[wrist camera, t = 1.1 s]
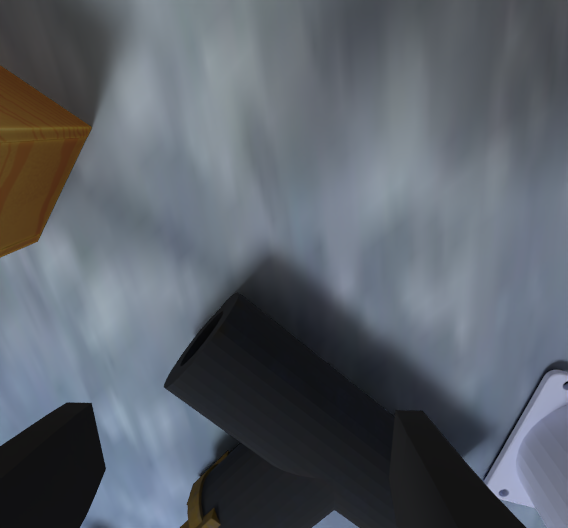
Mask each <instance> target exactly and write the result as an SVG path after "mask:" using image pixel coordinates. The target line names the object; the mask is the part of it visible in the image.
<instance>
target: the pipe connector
mask: <svg viewBox="0 0 568 528" xmlns="http://www.w3.org/2000/svg"><path fill="white" fill-rule="evenodd" d="M164 388H166V389H167V390H168V391H170V392H171V393H173V394H174V395H175V396H177V397H178V398H179V399H181V400H182V401H184V402H185V403H186V404H188V405H189V406H191V407H192V408H193V409H195V410H196V411H198V412H199V413H200V414H202V415H203V416H205V417H206V418H207V419H209V420H210V421H212V422H213V423H214V424H216V425H217V426H218V427H220V428H221V429H223V430H224V431H225V432H227V433H228V434H230V435H231V436H232V437H234V438H235V439H237V440H238V441H239V442H241V443H240V444H239V445H238V446H237V447H236V448H235V449H234V450H233V451H232V452H230V451H227V452H226V453H225V454H224V455H223V456H222V457H221V458H220V459H219V460H218V461H217V462H216V463H215V464H214V465H213V466H211V467H210V468H209V469H208V470H207V471H206V472H205V473H204V474H203V475H202V476H201V477H200V478H199V479H198V480H197V481H196V482H195V483H194V484H193V487H192V490H191V492H190V496H189V499H188V502H187V505H188V520H187V521H186V522H185V523H184V524H183V525H182V526H181V527H180V528H312V527H313V526H314V525H316V524H317V523H318V522H319V521H321V520H322V519H323V518H325V517H326V516H327V515H328V514H330V513H331V512H332V511H333V510H335V511H337V512H338V513H340V514H341V515H342V516H344V517H345V518H347V519H348V520H349V521H351V522H352V523H354V524H355V525H356V526H358V527H359V528H397V524H396V519H395V513H394V507H393V501H392V495H391V488H390V482H389V472H390V461H391V451H392V440H393V430H394V419H395V417H394V416H393V415H391V414H390V413H389V412H388V411H386V410H385V409H384V408H383V407H381V406H380V405H379V404H378V403H376V402H375V401H374V400H373V399H371V398H370V397H369V396H368V395H366V394H365V393H364V392H363V391H361V390H360V389H359V388H357V387H356V386H355V385H354V384H352V383H351V382H350V381H349V380H347V379H346V378H345V377H344V376H342V375H341V374H340V373H339V372H337V371H336V370H335V369H334V368H332V367H331V366H330V365H329V364H327V363H326V362H325V361H324V360H322V359H321V358H320V357H319V356H317V355H316V354H315V353H314V352H312V351H311V350H310V349H309V348H307V347H306V346H305V345H304V344H302V343H301V342H300V341H298V340H297V339H296V338H295V337H293V336H292V335H291V334H290V333H288V332H287V331H286V330H285V329H283V328H282V327H281V326H280V325H278V324H277V323H276V322H275V321H273V320H272V319H271V318H270V317H268V316H267V315H266V314H265V313H263V312H262V311H261V310H260V309H258V308H257V307H256V306H255V305H253V304H252V303H251V302H250V301H248V300H247V299H246V298H244V297H243V296H242V295H241V294H239V293H235V294H234V295H232V296H231V297H230V298H229V299H228V300H227V301H226V302H225V303H224V304H223V306H222V307H221V308H220V309H219V310H218V311H217V312H216V313H215V314H214V316H213V317H212V318H211V319H210V320H209V321H208V322H207V323H206V324H205V326H204V327H203V328H202V329H201V330H200V331H199V333H198V334H197V335H196V336H195V338H194V339H193V340H192V342H191V343H190V344H189V346H188V347H187V348H186V350H185V351H184V352H183V354H182V355H181V357H180V358H179V360H178V361H177V363H176V364H175V366H174V367H173V369H172V370H171V372H170V374H169V376H168V378H167V379H166V382H165V384H164Z"/></svg>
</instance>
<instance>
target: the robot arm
mask: <svg viewBox="0 0 568 528" xmlns="http://www.w3.org/2000/svg"><path fill="white" fill-rule="evenodd" d="M567 381H568V372H566V371H562V370H551V371H549V372H547V373H546V374H545V376H544V377H543V379H542V381H541V382H540V384H539V386H538V388H537V389H536V391H535V393H534V395H533V396H532V398H531V400H530V402H529V403H528V405H527V407H526V409H525V410H524V412H523V414H522V416H521V417H520V419H519V421H518V423H517V424H516V426H515V428H514V430H513V431H512V433H511V435H510V437H509V438H508V440H507V442H506V444H505V445H504V447H503V449H502V451H501V452H500V454H499V456H498V458H497V459H496V461H495V463H494V465H493V466H492V468H491V470H490V472H489V473H488V475H487V477H486V478H485V480H484V482H483V481H482V480H481V479H480V478H479V477H478V476H477V474H476V473H475V472H474V471H473V470H472V469H471V468H470V467H469V465H468V464H467V463H466V462H465V461H464V460H463V458H462V457H461V456H460V455H459V454H458V453H457V451H456V450H455V449H454V448H453V447H452V445H451V444H450V443H449V442H448V441H447V439H446V438H445V437H444V436H443V435H442V433H441V432H440V431H439V430H438V429H437V427H436V426H435V425H434V424H433V422H432V421H431V420H430V419H429V418H428V416H427V415H426V414H425V413H424V412H423V411H406V410H395V419H394V430H393V440H392V451H391V461H390V472H389V482H390V488H391V495H392V501H393V507H394V513H395V519H396V524H397V528H526V527H525V526H524V525H523V524H522V523H521V522H520V521H519V520H518V519H517V518H516V517H515V516H514V515H513V513H512V512H511V511H510V510H509V509H508V508H507V507H506V506H505V505H504V504H503V503H502V502H501V501H500V500H499V499H502V500H505V501H509V502H513V503H517V504H521V505H525V506H529V507H533V508H536V510H537V512H538V513H539V515H540V517H541V519H542V520H543V522H544V524H545V525H546V527H547V528H568V384H566V385H563V384H564V383H565V382H567ZM105 470H106V467H105V463H104V458H103V453H102V449H101V444H100V440H99V435H98V430H97V426H96V421H95V416H94V412H93V407H92V403H66V404H64V405H62V406H61V407H59V408H57V409H56V410H54V411H52V412H51V413H49V414H48V415H46V416H45V417H43V418H42V419H40V420H39V421H37V422H36V423H34V424H33V425H31V426H30V427H28V428H27V429H25V430H24V431H22V432H21V433H19V434H18V435H16V436H15V437H13V438H12V439H10V440H9V441H7V442H6V443H4V444H3V445H1V446H0V528H80V526H81V524H82V522H83V521H84V519H85V517H86V515H87V513H88V511H89V508H90V506H91V504H92V501H93V499H94V497H95V495H96V492H97V490H98V487H99V485H100V482H101V480H102V477H103V475H104V472H105Z"/></svg>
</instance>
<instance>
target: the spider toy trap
mask: <svg viewBox="0 0 568 528" xmlns="http://www.w3.org/2000/svg"><path fill="white" fill-rule="evenodd" d="M91 129H92V127H91V126H89V125H88V124H86V123H85V122H83V121H82V120H80V119H79V118H77V117H76V116H74V115H73V114H72V113H70V112H69V111H67V110H66V109H64V108H63V107H61V106H60V105H58V104H57V103H55V102H54V101H52V100H51V99H49V98H48V97H46V96H45V95H43V94H42V93H40V92H39V91H37V90H36V89H34V88H33V87H31V86H30V85H29V84H27V83H26V82H24V81H23V80H21V79H20V78H18V77H17V76H15V75H14V74H12V73H11V72H9V71H8V70H6V69H5V68H3V67H2V66H0V257H3V256H5V255H7V254H10V253H12V252H14V251H17V250H19V249H21V248H24V247H26V246H28V245H31V244H33V243H35V242H38V240H39V238H40V236H41V233H42V231H43V229H44V227H45V224H46V222H47V220H48V218H49V216H50V214H51V212H52V210H53V208H54V206H55V203H56V201H57V199H58V197H59V195H60V193H61V191H62V189H63V187H64V185H65V182H66V180H67V178H68V176H69V174H70V172H71V170H72V168H73V166H74V164H75V162H76V159H77V157H78V155H79V153H80V151H81V149H82V147H83V145H84V143H85V141H86V138H87V137H88V135H89V133H90V131H91Z"/></svg>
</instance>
